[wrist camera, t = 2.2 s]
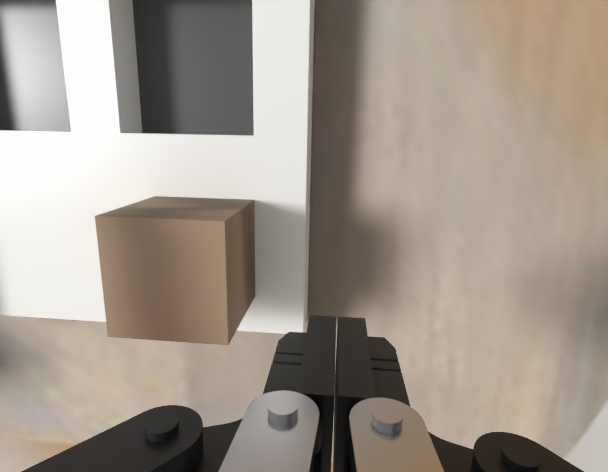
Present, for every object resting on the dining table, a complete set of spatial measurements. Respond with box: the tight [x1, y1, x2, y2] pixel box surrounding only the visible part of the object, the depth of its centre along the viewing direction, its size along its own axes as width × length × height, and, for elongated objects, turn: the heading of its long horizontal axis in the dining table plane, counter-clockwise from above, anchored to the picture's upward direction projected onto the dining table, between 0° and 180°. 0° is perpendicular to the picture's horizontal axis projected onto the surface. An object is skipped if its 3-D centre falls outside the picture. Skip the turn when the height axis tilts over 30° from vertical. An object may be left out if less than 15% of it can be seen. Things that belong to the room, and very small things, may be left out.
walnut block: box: [95, 196, 255, 345], centre depth 18 cm, size 5×5×5 cm
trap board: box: [0, 0, 315, 334], centre depth 20 cm, size 20×18×5 cm
